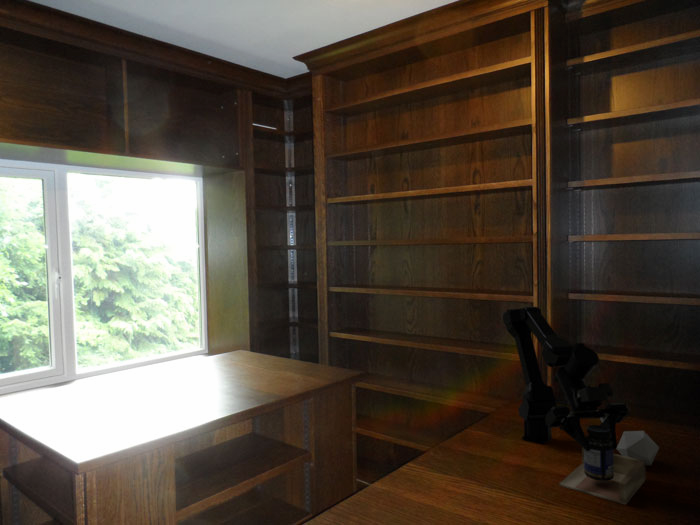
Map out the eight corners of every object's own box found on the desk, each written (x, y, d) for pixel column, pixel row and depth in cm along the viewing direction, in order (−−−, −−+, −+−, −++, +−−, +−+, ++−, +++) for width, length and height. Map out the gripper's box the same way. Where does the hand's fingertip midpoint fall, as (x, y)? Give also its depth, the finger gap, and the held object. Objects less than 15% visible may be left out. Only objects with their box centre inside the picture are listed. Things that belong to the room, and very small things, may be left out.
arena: (559, 485, 118) (558, 466, 118) (583, 463, 129) (583, 446, 129) (625, 504, 108) (625, 484, 108) (645, 479, 120) (645, 460, 120)
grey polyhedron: (656, 476, 123) (669, 439, 126) (622, 456, 124) (636, 421, 127) (638, 474, 131) (650, 439, 134) (606, 456, 132) (619, 422, 135)
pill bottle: (606, 470, 120) (606, 424, 120) (618, 482, 114) (618, 433, 114) (579, 470, 121) (579, 423, 120) (590, 481, 115) (590, 432, 114)
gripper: (550, 372, 120) (577, 436, 109) (624, 369, 122) (657, 431, 111) (534, 396, 128) (558, 458, 117) (604, 393, 130) (634, 452, 119)
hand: (602, 449), depth 116 cm, fingers closed on pill bottle, 6 cm apart
